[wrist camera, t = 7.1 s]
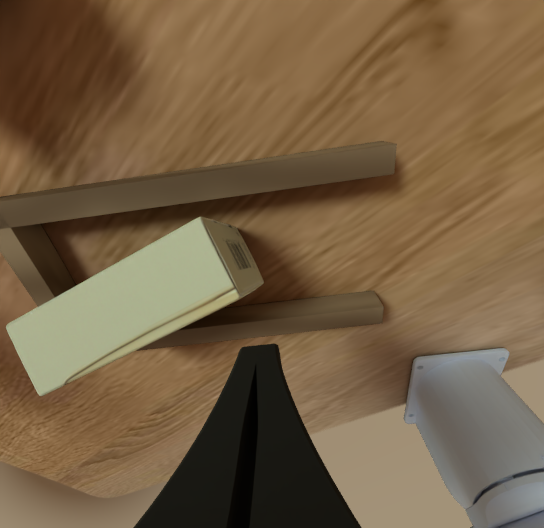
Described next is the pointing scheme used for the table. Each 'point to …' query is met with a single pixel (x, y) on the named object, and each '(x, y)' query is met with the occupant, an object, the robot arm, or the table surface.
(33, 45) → the table surface
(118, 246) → the table surface
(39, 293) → the cradle
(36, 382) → the skincare box
